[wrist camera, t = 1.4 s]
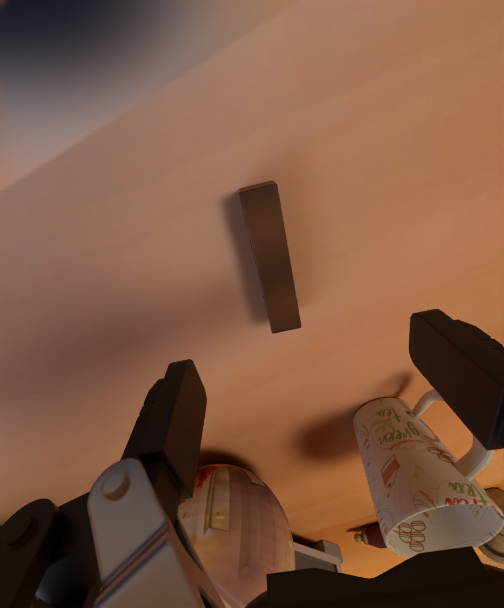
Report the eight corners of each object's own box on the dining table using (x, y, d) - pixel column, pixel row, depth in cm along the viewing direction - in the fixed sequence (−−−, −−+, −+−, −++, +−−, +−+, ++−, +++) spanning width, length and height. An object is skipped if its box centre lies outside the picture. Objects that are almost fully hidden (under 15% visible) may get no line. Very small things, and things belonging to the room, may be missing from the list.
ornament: (154, 429, 28) (75, 669, 15) (295, 437, 29) (338, 664, 16) (158, 505, 35) (107, 715, 22) (272, 509, 36) (289, 709, 23)
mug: (327, 434, 29) (364, 553, 20) (391, 345, 24) (478, 454, 15) (393, 448, 31) (453, 564, 22) (467, 367, 25) (587, 478, 16)
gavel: (362, 573, 39) (355, 542, 34) (353, 534, 43) (346, 502, 38) (525, 563, 36) (542, 528, 31) (499, 522, 40) (510, 485, 35)
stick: (239, 188, 17) (238, 192, 15) (272, 180, 17) (276, 182, 15) (269, 317, 22) (272, 334, 20) (296, 311, 22) (301, 328, 20)
